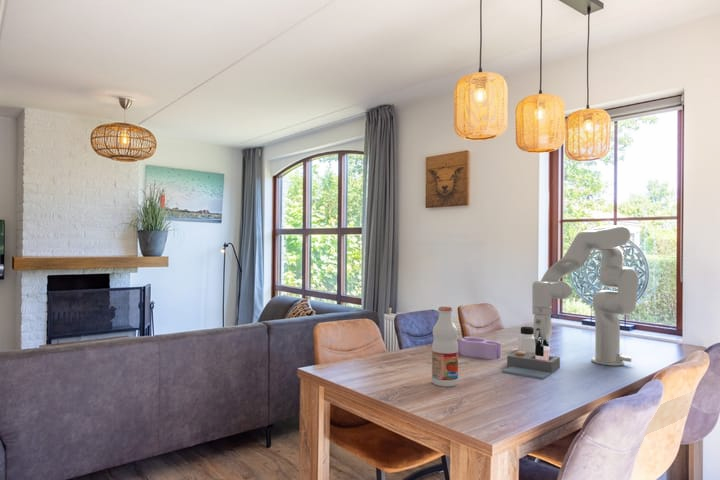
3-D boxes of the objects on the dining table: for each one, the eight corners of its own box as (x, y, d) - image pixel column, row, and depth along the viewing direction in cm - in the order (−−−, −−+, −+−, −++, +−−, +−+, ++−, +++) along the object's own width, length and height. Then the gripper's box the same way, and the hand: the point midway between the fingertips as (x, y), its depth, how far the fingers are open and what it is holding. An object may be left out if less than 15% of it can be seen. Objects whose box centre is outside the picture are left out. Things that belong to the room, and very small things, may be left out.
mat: (550, 374, 186) (550, 372, 186) (543, 379, 179) (543, 377, 179) (510, 368, 196) (510, 366, 196) (502, 372, 189) (502, 370, 189)
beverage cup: (530, 367, 197) (530, 334, 197) (542, 366, 199) (542, 333, 199) (541, 371, 191) (541, 336, 191) (553, 369, 193) (553, 335, 194)
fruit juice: (437, 378, 179) (437, 305, 180) (461, 382, 175) (461, 306, 175) (428, 384, 171) (428, 307, 171) (453, 388, 166) (453, 309, 167)
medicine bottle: (537, 353, 224) (537, 328, 224) (522, 353, 224) (522, 327, 224) (532, 350, 231) (532, 325, 231) (517, 349, 231) (517, 325, 231)
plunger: (526, 363, 201) (526, 351, 201) (523, 365, 198) (523, 353, 198) (517, 361, 203) (517, 350, 204) (514, 363, 200) (514, 351, 200)
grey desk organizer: (559, 367, 197) (559, 357, 197) (551, 373, 187) (551, 362, 187) (517, 361, 208) (517, 351, 208) (507, 366, 198) (507, 355, 198)
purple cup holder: (505, 356, 217) (505, 341, 217) (491, 361, 208) (491, 345, 208) (467, 349, 231) (468, 335, 231) (453, 353, 222) (453, 339, 222)
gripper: (545, 314, 186) (545, 359, 186) (557, 309, 200) (557, 352, 200) (526, 312, 191) (526, 356, 191) (539, 308, 205) (539, 349, 204)
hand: (541, 353), depth 195 cm, fingers closed on beverage cup, 6 cm apart
